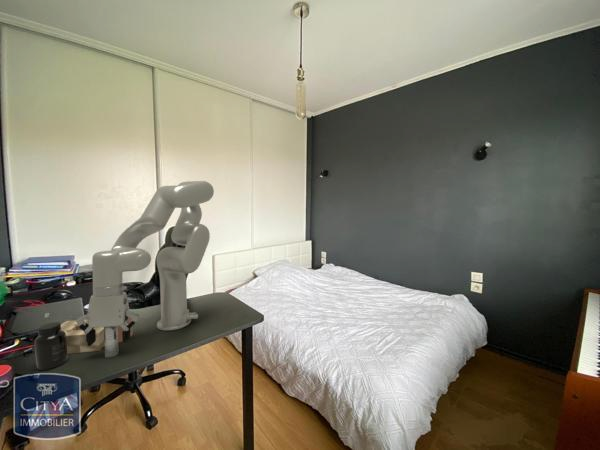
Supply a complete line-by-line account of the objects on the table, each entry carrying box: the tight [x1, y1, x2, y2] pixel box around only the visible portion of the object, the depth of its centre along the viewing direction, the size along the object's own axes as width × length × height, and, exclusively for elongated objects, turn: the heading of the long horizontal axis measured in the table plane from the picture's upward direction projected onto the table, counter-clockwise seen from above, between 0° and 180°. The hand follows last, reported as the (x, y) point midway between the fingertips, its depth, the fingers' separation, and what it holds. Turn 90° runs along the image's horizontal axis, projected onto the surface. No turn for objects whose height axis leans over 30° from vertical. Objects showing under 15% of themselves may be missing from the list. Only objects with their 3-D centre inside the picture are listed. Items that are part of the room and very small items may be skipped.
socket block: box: [60, 318, 105, 355], centre depth 88 cm, size 16×12×6 cm
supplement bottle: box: [34, 322, 69, 371], centre depth 76 cm, size 7×7×12 cm
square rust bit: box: [117, 317, 134, 343], centre depth 91 cm, size 4×4×9 cm
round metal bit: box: [104, 326, 119, 358], centre depth 81 cm, size 4×4×10 cm
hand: (109, 342), depth 81 cm, fingers open, 9 cm apart
